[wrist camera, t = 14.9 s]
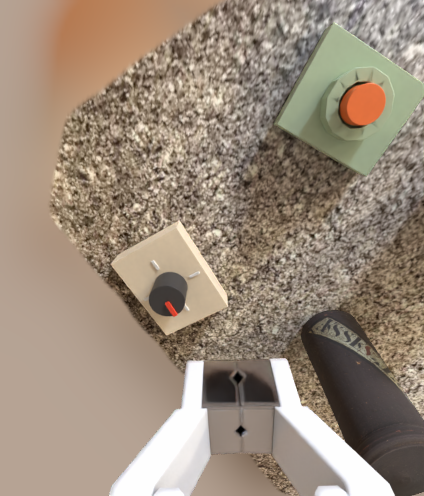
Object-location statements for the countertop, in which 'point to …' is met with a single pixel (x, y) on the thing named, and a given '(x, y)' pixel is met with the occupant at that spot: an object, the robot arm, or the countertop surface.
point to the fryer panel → (171, 260)
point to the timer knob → (168, 294)
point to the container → (367, 400)
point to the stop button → (362, 104)
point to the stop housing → (332, 91)
